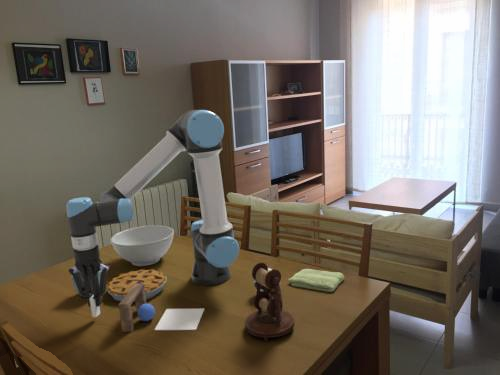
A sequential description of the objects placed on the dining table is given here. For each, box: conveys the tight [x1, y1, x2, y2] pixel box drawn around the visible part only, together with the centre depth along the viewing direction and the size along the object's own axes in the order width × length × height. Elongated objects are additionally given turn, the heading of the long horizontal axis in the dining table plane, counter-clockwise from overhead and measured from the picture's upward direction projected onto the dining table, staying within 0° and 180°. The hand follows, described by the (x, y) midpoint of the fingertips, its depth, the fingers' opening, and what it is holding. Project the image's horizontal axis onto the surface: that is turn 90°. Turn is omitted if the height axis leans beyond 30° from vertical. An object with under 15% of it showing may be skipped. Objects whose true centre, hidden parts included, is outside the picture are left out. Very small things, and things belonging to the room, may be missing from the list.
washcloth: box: [288, 268, 345, 293], centre depth 160 cm, size 13×18×3 cm
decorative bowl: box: [110, 224, 175, 267], centre depth 192 cm, size 27×27×12 cm
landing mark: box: [154, 308, 205, 331], centre depth 140 cm, size 13×13×1 cm
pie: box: [106, 268, 168, 302], centre depth 164 cm, size 22×22×5 cm
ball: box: [136, 302, 156, 322], centre depth 141 cm, size 6×6×6 cm
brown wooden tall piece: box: [244, 262, 295, 342], centre depth 129 cm, size 15×15×20 cm
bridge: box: [118, 284, 148, 333], centre depth 141 cm, size 3×14×9 cm, turn 174°
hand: (96, 314), depth 143 cm, fingers closed
